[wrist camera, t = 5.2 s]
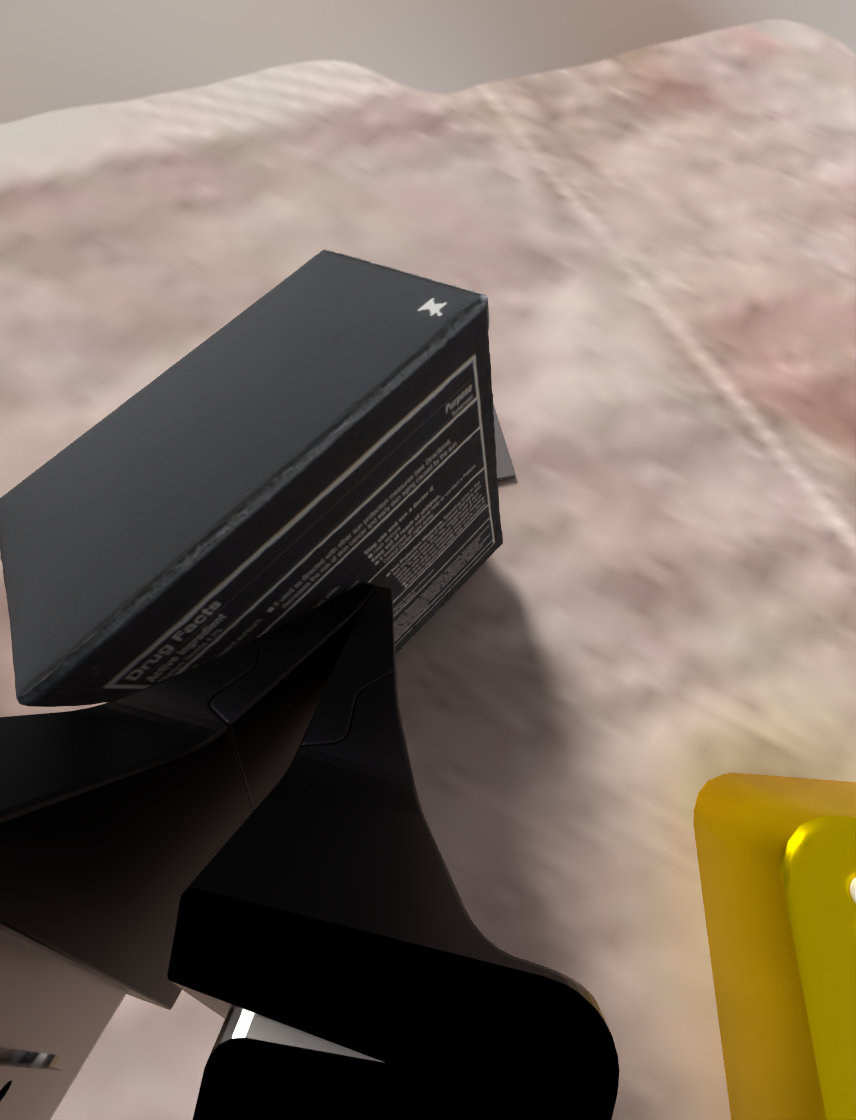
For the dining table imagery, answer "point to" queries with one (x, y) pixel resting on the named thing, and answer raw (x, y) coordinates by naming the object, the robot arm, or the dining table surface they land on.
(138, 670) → the small box
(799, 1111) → the element tile
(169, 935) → the robot arm
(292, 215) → the dining table surface
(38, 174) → the dining table surface
